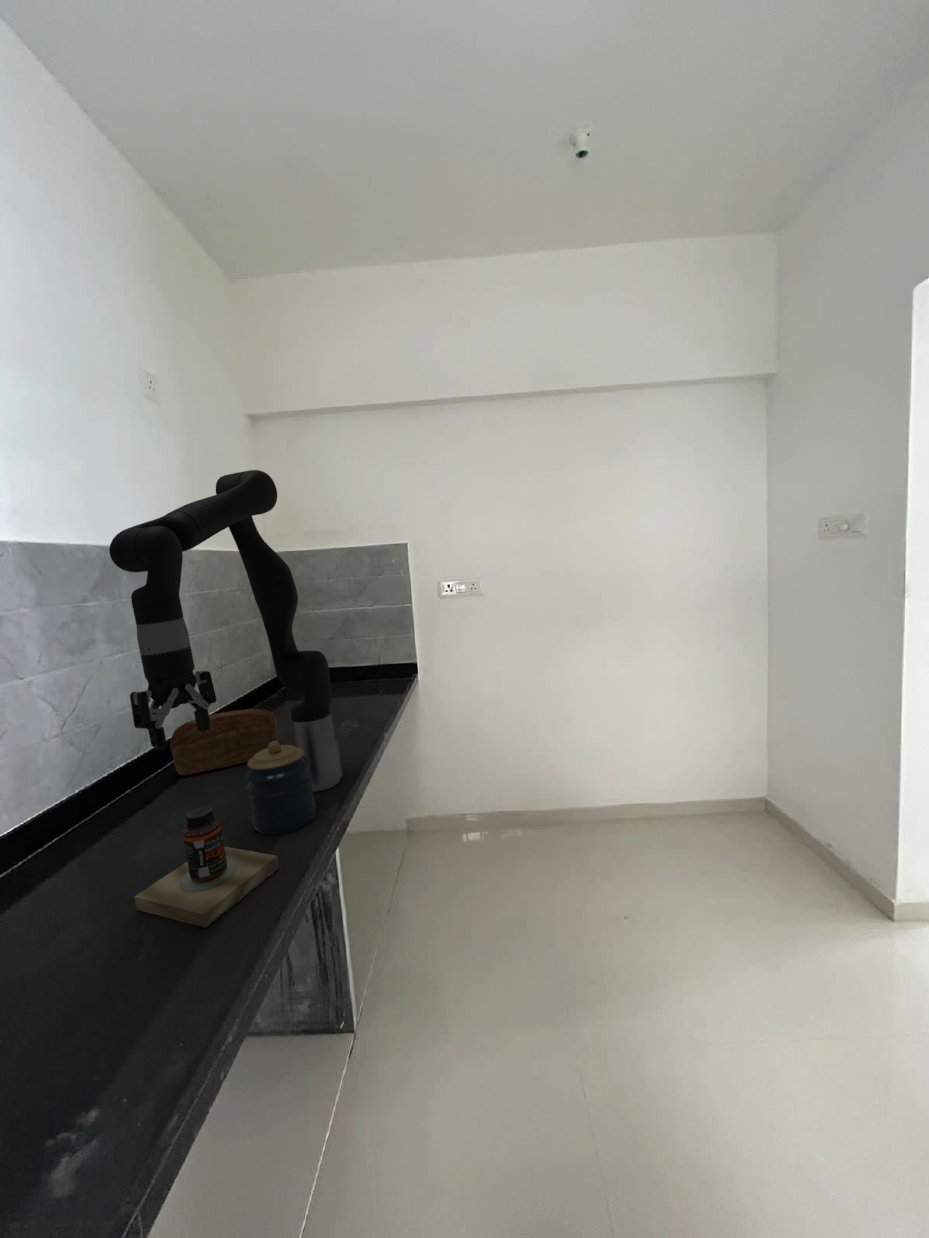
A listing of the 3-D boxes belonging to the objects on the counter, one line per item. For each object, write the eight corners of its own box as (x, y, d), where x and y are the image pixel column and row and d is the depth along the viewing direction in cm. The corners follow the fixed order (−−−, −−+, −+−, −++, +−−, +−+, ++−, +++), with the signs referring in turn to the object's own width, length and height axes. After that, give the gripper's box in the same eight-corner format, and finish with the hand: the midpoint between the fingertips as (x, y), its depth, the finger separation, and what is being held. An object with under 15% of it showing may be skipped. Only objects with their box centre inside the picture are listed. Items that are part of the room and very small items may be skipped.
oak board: (215, 856, 105) (213, 843, 104) (279, 868, 98) (277, 854, 98) (136, 910, 90) (134, 895, 90) (205, 928, 84) (202, 912, 83)
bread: (282, 757, 155) (274, 709, 153) (173, 782, 145) (163, 730, 143) (280, 745, 166) (273, 699, 164) (178, 767, 156) (169, 719, 154)
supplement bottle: (213, 884, 90) (201, 820, 89) (182, 883, 92) (170, 820, 90) (235, 863, 96) (224, 803, 95) (206, 862, 98) (195, 803, 96)
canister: (242, 825, 116) (229, 746, 114) (297, 800, 126) (285, 727, 123) (272, 843, 107) (258, 758, 105) (328, 815, 117) (317, 736, 114)
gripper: (141, 657, 83) (161, 757, 86) (215, 638, 96) (231, 725, 98) (109, 658, 86) (129, 754, 89) (185, 639, 99) (201, 724, 101)
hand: (183, 739), depth 94 cm, fingers open, 8 cm apart
